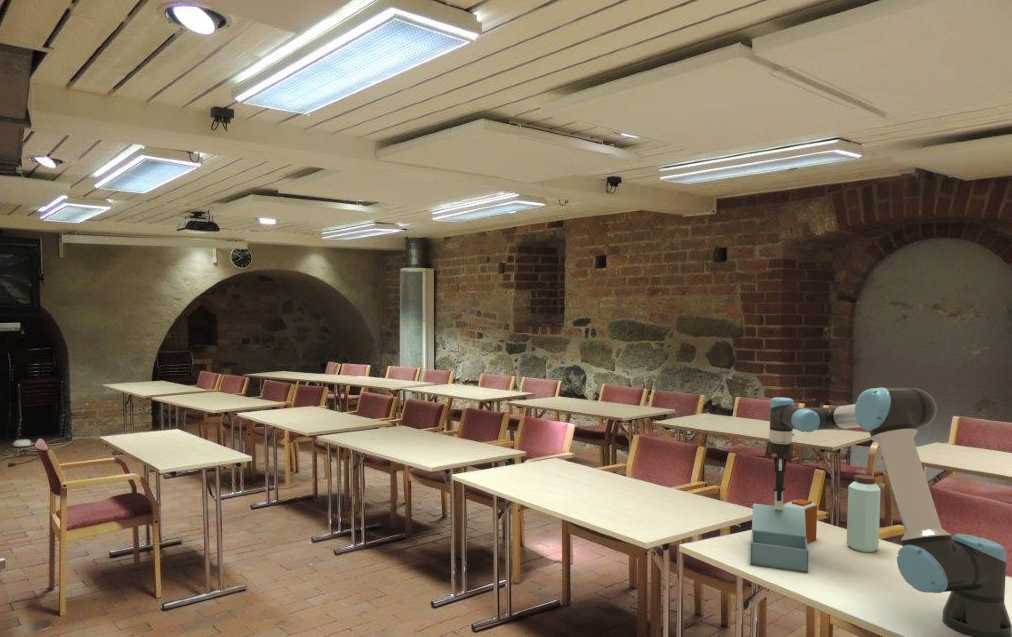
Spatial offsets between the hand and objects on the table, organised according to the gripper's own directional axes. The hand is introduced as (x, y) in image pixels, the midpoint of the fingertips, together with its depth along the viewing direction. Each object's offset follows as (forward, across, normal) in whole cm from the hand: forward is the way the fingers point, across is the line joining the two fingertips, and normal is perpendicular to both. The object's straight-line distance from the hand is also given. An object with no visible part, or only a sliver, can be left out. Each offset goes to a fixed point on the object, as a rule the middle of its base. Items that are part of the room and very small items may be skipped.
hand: (778, 509), depth 245 cm
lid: (+2, -4, 0) cm, 5 cm away
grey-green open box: (+13, -18, 0) cm, 22 cm away
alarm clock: (+13, +8, -6) cm, 16 cm away
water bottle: (+13, +8, -28) cm, 32 cm away
